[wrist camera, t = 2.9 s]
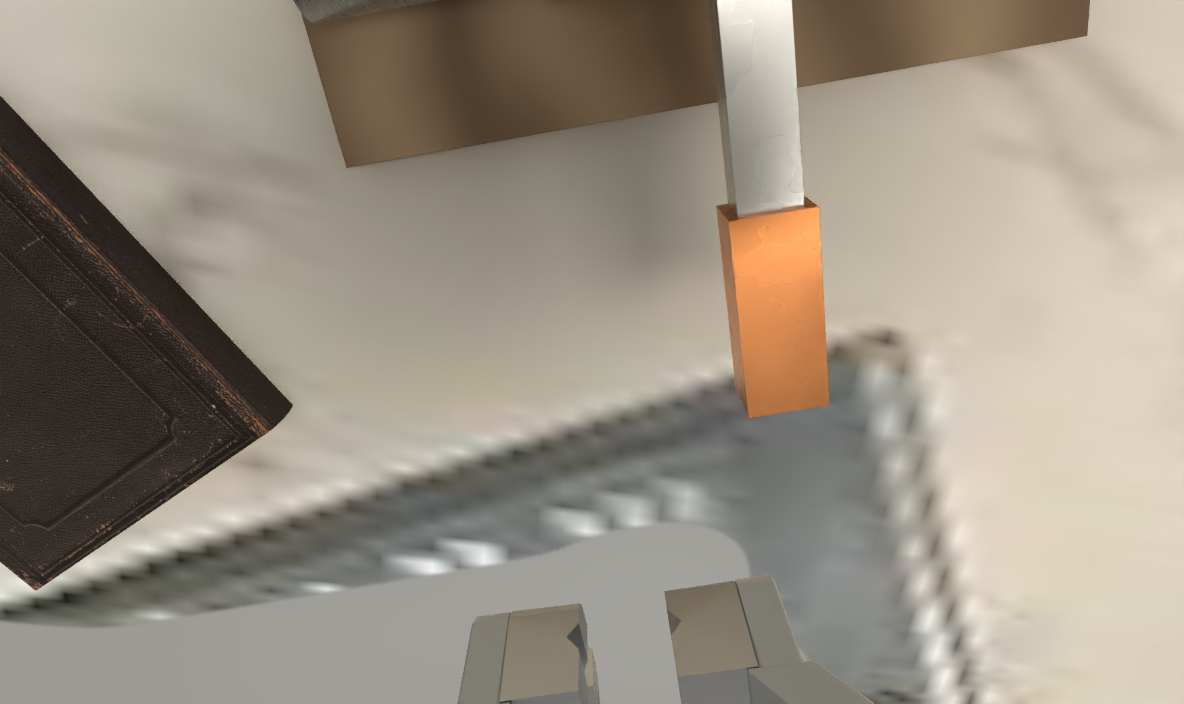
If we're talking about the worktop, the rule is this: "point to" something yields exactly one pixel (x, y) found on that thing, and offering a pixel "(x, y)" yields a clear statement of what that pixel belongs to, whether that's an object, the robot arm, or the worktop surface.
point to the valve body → (347, 8)
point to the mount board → (613, 60)
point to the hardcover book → (100, 371)
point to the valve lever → (767, 213)
